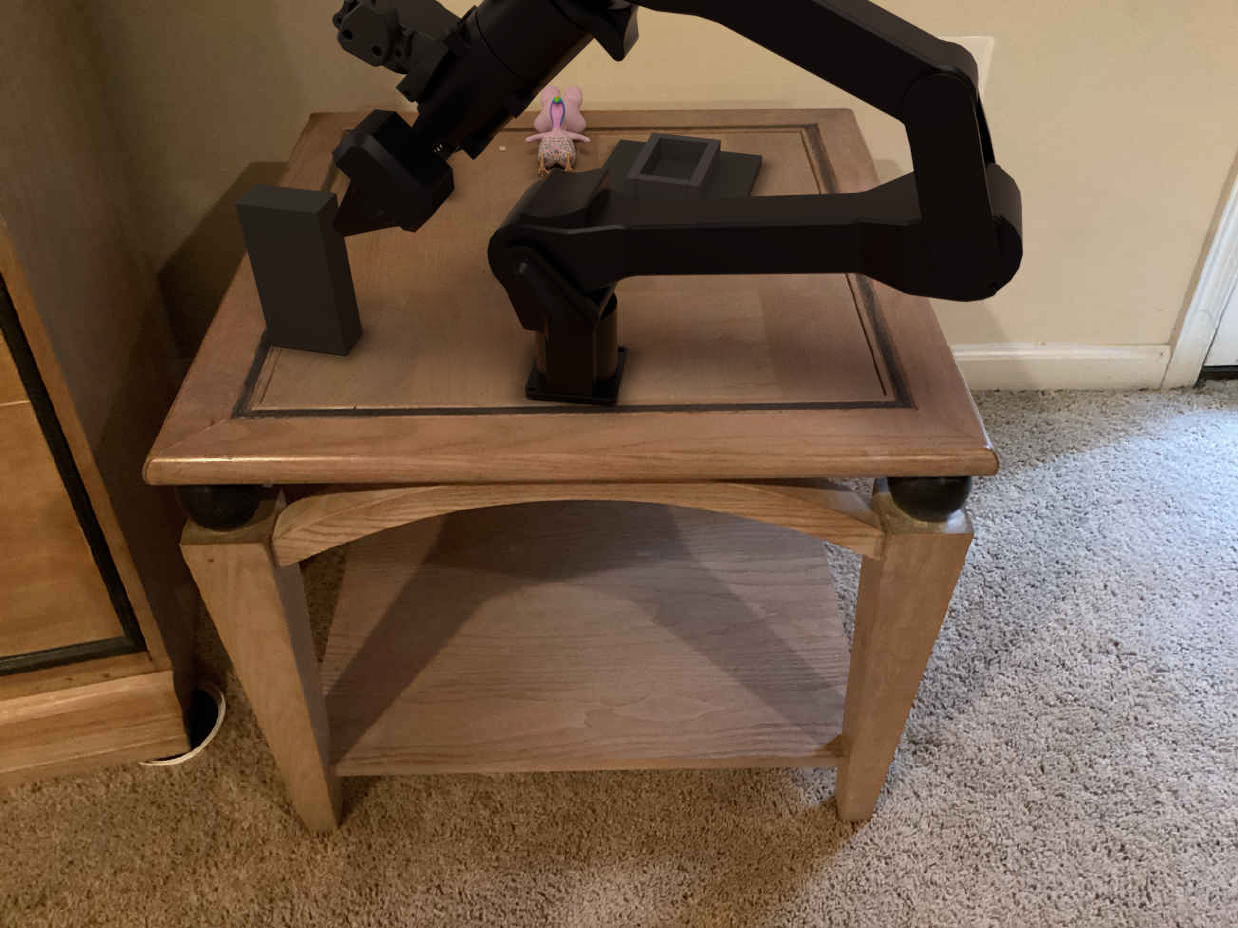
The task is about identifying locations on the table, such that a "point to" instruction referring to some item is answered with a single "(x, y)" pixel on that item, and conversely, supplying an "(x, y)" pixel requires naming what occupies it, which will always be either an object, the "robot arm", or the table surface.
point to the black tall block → (300, 268)
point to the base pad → (680, 168)
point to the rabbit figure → (559, 127)
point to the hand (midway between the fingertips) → (368, 197)
